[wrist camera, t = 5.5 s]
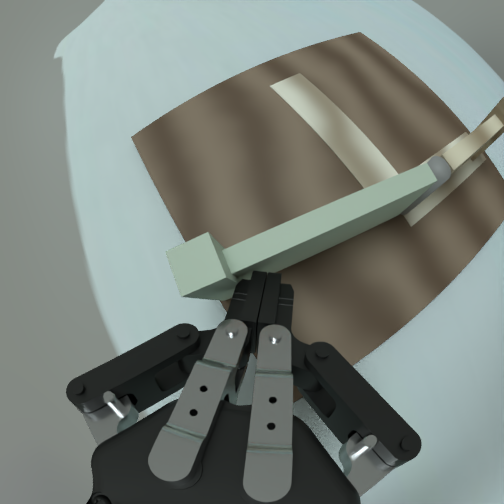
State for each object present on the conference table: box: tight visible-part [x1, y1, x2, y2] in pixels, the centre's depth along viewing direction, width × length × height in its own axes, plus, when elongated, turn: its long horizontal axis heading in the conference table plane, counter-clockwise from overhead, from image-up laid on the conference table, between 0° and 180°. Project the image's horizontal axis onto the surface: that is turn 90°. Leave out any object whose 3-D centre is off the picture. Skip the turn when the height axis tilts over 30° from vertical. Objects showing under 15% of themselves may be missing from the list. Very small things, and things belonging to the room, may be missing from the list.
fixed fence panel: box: [440, 97, 504, 174], centre depth 15 cm, size 12×2×8 cm, turn 122°
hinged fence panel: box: [166, 156, 451, 301], centre depth 15 cm, size 16×2×8 cm, turn 113°
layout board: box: [131, 32, 504, 403], centre depth 21 cm, size 30×27×1 cm
